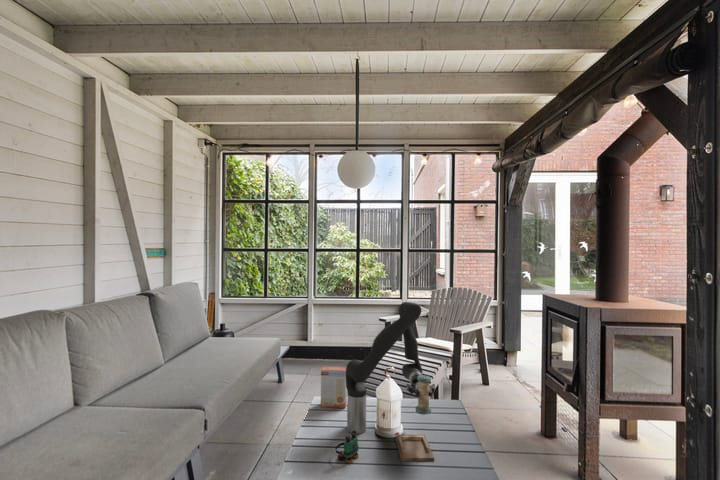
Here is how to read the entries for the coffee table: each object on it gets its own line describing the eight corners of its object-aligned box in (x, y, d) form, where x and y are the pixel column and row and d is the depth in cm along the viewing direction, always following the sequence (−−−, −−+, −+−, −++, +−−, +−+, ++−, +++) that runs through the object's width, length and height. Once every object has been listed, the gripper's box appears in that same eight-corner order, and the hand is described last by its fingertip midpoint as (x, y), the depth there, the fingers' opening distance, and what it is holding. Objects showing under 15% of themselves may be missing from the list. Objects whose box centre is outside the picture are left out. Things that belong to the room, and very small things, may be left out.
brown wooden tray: (401, 460, 164) (401, 454, 164) (395, 437, 184) (395, 431, 184) (434, 460, 165) (434, 454, 165) (424, 437, 185) (424, 431, 185)
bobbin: (417, 414, 174) (417, 380, 174) (414, 407, 181) (414, 374, 181) (432, 414, 174) (433, 380, 174) (429, 407, 181) (429, 375, 181)
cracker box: (346, 404, 222) (347, 367, 222) (345, 408, 216) (345, 370, 216) (322, 402, 223) (322, 366, 223) (320, 407, 217) (320, 369, 217)
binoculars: (341, 427, 173) (361, 430, 168) (343, 451, 173) (362, 456, 168) (329, 435, 166) (349, 439, 161) (331, 461, 165) (351, 465, 160)
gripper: (403, 373, 192) (409, 386, 175) (432, 373, 192) (440, 386, 175) (403, 389, 192) (408, 403, 175) (432, 389, 192) (440, 403, 175)
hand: (424, 394), depth 175 cm, fingers closed on bobbin, 4 cm apart
